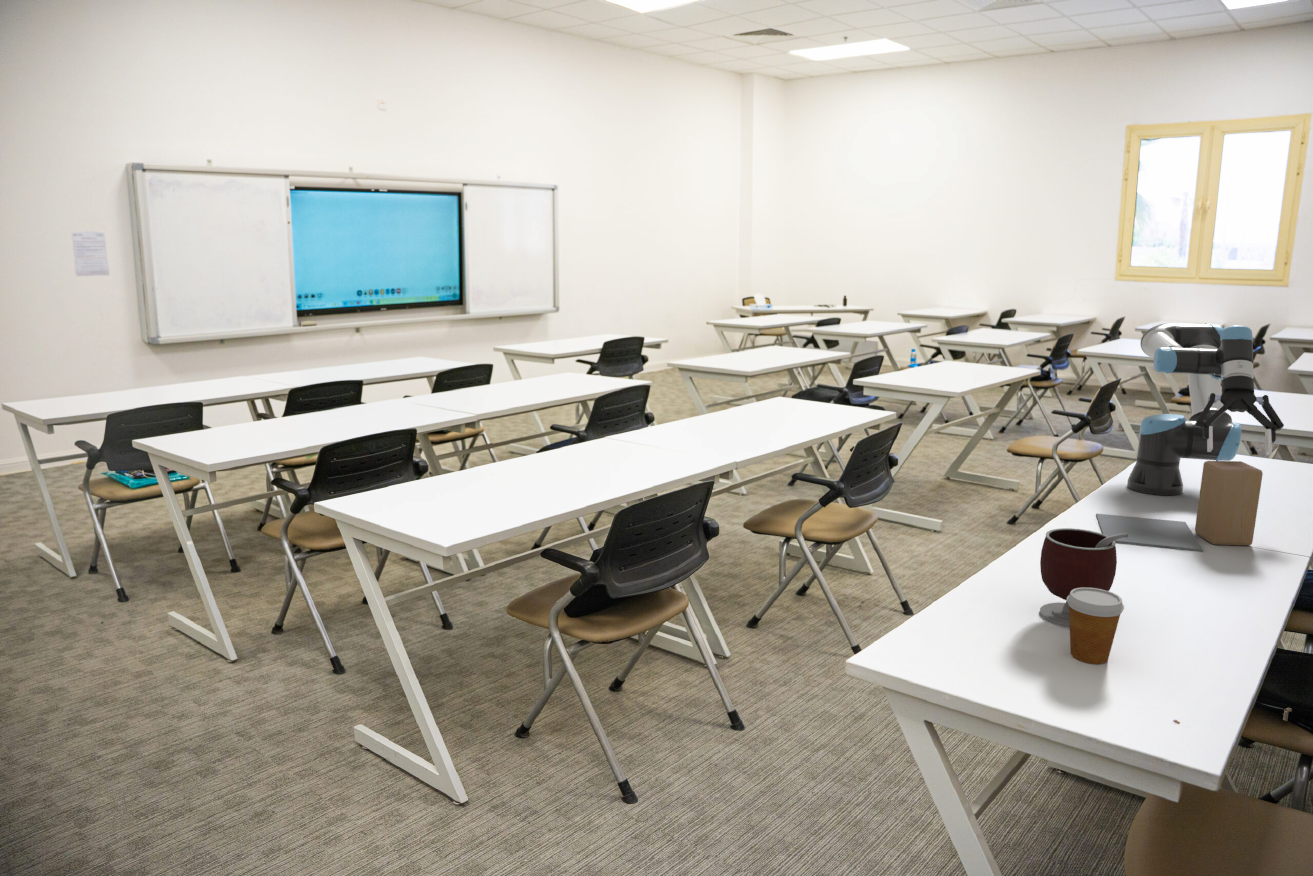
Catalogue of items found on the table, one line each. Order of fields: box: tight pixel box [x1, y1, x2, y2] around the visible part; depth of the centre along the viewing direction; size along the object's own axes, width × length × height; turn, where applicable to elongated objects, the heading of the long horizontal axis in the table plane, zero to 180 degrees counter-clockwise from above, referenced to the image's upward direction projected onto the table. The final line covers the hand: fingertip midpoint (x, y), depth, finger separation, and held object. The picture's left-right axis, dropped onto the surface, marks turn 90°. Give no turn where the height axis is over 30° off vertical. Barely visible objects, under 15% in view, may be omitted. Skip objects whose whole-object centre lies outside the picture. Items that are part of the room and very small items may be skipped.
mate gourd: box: [1039, 527, 1128, 629], centre depth 180 cm, size 16×14×20 cm
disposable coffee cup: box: [1067, 587, 1125, 665], centre depth 164 cm, size 10×10×12 cm
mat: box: [1095, 512, 1204, 552], centre depth 235 cm, size 24×22×1 cm
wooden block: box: [1194, 460, 1264, 546], centre depth 227 cm, size 10×10×20 cm
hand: (1239, 452), depth 239 cm, fingers open, 13 cm apart
